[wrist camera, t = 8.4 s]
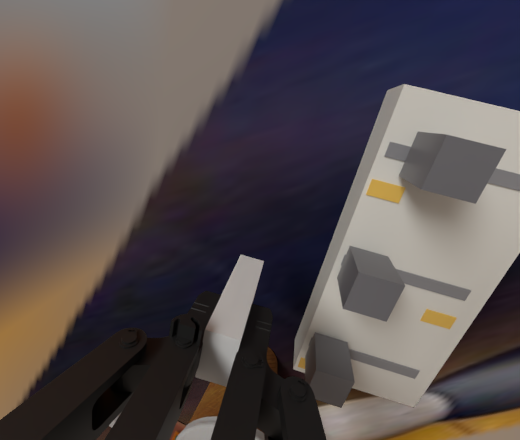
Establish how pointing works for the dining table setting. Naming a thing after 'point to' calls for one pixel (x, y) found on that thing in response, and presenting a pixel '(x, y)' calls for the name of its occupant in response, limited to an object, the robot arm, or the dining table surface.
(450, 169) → the tab
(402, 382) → the switch bank
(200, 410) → the disposable coffee cup
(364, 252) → the tab
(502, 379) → the dining table surface
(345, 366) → the tab
